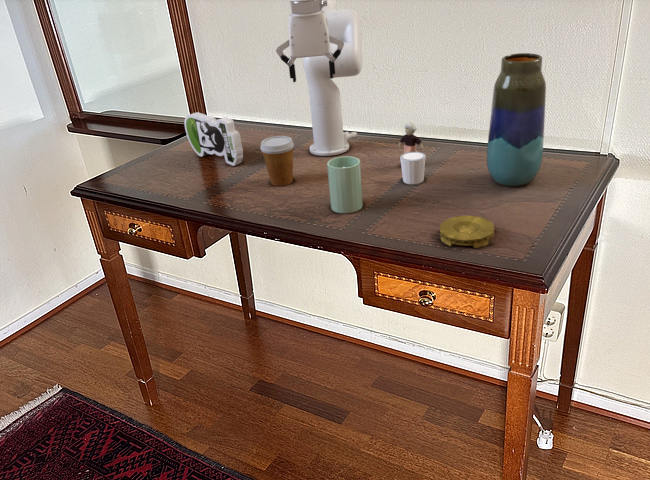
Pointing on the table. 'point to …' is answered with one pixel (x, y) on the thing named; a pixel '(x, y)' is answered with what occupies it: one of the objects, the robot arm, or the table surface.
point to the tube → (345, 184)
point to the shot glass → (413, 167)
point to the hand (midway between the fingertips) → (313, 79)
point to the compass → (467, 231)
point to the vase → (517, 120)
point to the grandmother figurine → (410, 139)
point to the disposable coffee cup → (279, 159)
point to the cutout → (214, 137)
